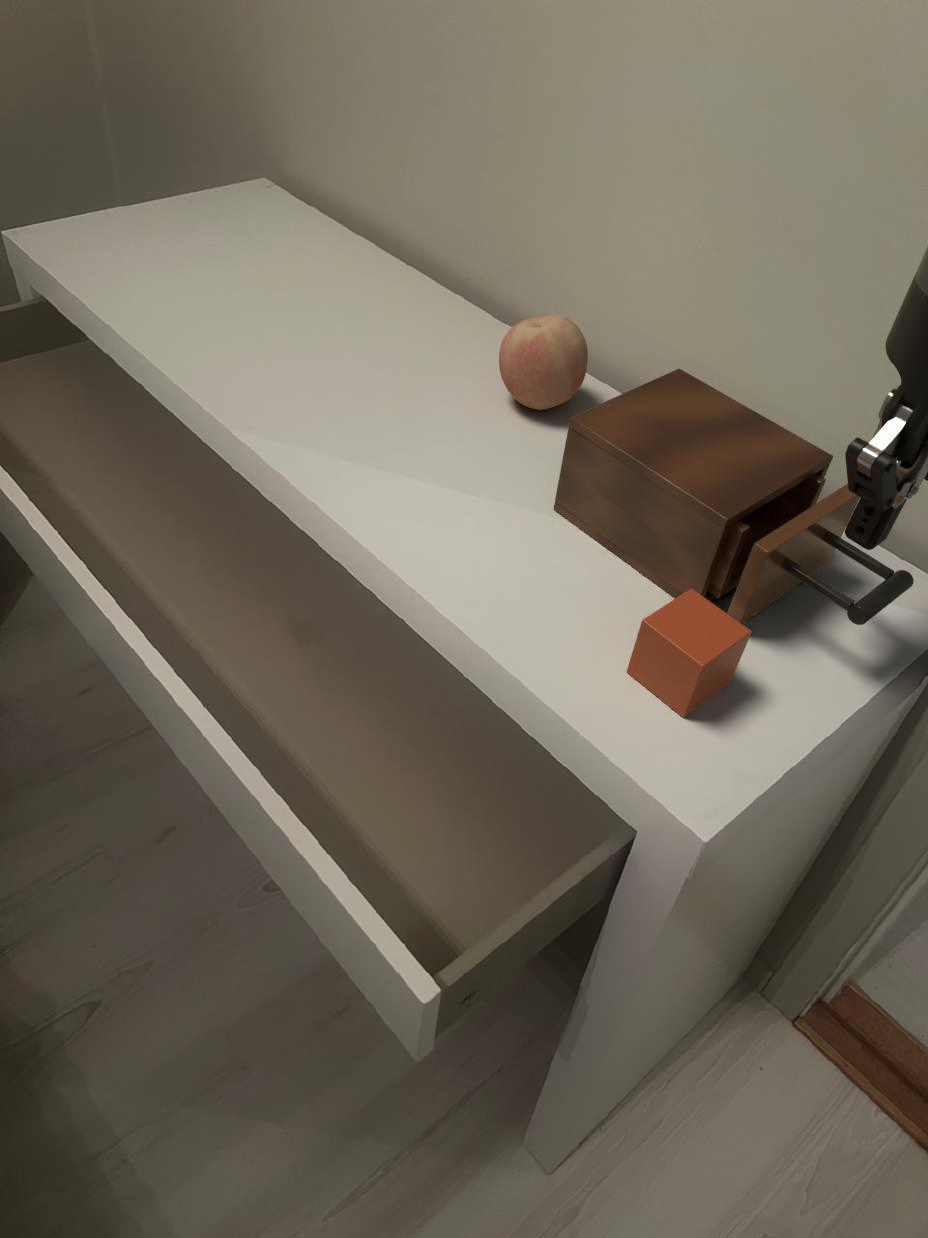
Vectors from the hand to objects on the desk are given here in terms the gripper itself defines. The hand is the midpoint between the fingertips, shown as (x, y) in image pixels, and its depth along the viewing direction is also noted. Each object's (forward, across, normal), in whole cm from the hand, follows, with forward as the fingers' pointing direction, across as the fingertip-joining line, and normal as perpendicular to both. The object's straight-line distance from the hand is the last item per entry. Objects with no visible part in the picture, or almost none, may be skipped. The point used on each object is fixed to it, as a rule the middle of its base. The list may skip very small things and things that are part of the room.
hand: (863, 538), depth 61 cm
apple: (+9, +4, +33) cm, 35 cm away
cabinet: (+8, 0, +14) cm, 16 cm away
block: (+8, -12, +3) cm, 15 cm away
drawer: (+8, 0, +7) cm, 10 cm away
